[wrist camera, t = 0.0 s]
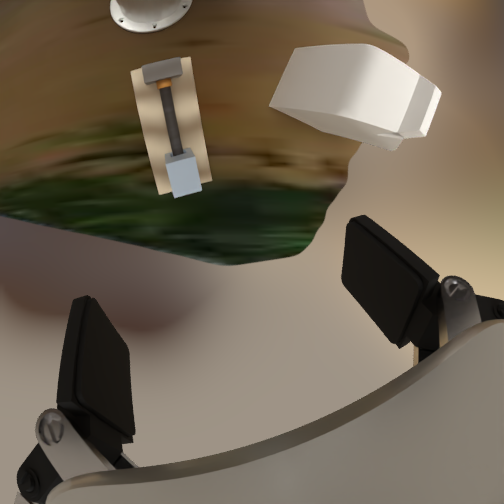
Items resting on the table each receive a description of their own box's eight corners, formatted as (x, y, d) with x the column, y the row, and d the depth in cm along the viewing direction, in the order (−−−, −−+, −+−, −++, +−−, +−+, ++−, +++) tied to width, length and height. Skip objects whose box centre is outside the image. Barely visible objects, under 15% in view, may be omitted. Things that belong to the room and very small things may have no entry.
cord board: (131, 71, 30) (125, 67, 25) (189, 57, 32) (195, 50, 27) (159, 192, 43) (159, 209, 37) (211, 178, 44) (219, 193, 39)
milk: (294, 48, 35) (416, 34, 15) (345, 78, 41) (465, 97, 20) (268, 106, 40) (378, 132, 20) (321, 131, 46) (434, 179, 25)
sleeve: (164, 154, 38) (165, 164, 33) (189, 147, 39) (195, 156, 34) (171, 183, 41) (174, 198, 36) (196, 176, 42) (202, 190, 36)
